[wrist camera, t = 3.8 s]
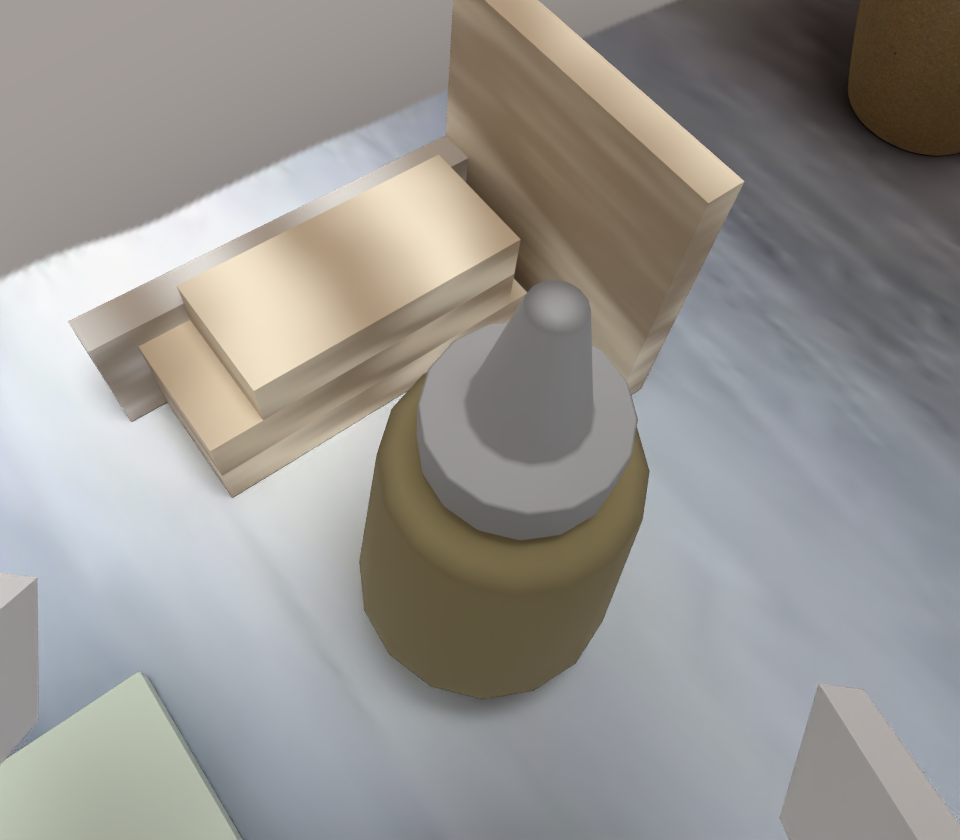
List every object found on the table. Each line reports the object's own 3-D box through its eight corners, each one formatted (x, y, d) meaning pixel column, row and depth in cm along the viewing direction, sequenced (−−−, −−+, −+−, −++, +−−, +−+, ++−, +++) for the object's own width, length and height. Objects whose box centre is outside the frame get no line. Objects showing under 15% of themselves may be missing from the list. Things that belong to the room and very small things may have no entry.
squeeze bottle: (537, 759, 28) (715, 624, 12) (322, 654, 29) (218, 399, 13) (618, 549, 31) (837, 231, 15) (425, 463, 32) (443, 81, 16)
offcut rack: (467, 205, 39) (490, -42, 28) (641, 388, 35) (744, 181, 24) (113, 394, 33) (-27, 171, 22) (275, 641, 29) (199, 513, 18)
